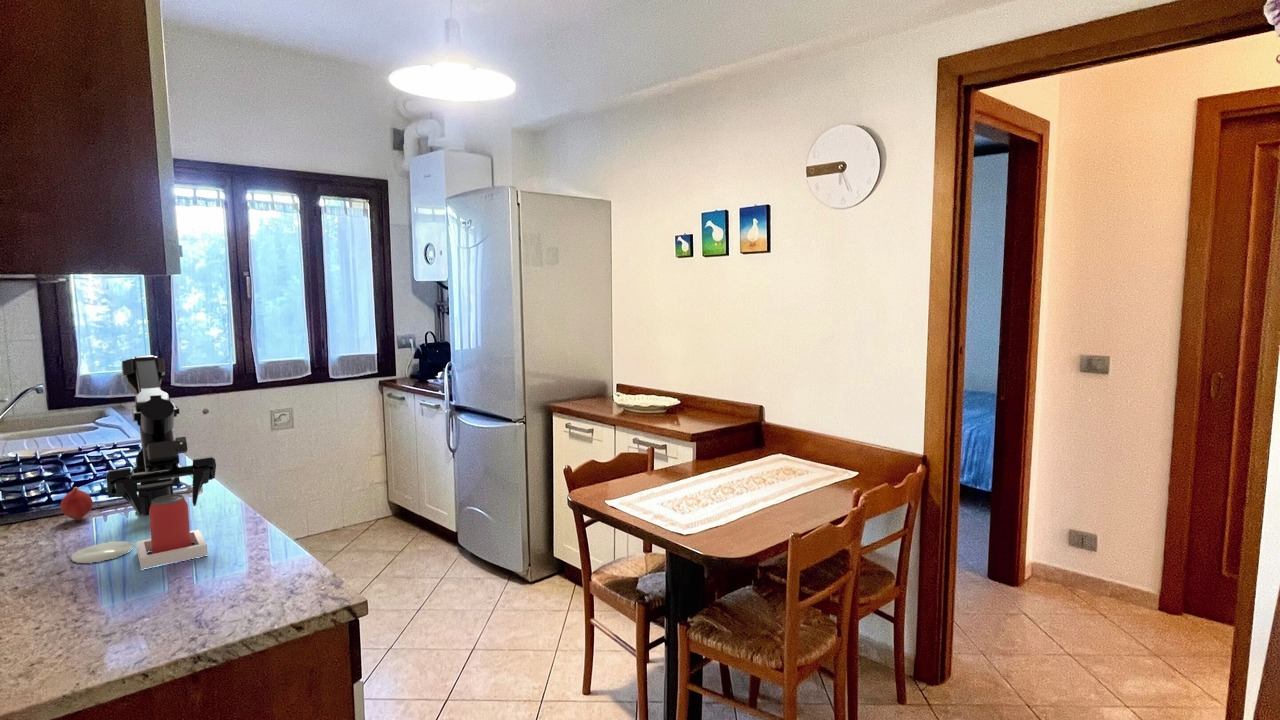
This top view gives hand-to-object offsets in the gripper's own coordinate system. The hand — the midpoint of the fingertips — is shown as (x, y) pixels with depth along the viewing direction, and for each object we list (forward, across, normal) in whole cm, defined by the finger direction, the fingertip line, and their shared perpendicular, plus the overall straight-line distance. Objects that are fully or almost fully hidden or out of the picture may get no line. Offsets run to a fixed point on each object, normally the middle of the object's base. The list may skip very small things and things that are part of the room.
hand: (168, 509), depth 138 cm
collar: (+8, 0, +6) cm, 9 cm away
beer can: (+8, 0, +6) cm, 10 cm away
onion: (-20, -15, +32) cm, 41 cm away
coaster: (+1, -11, +12) cm, 17 cm away
